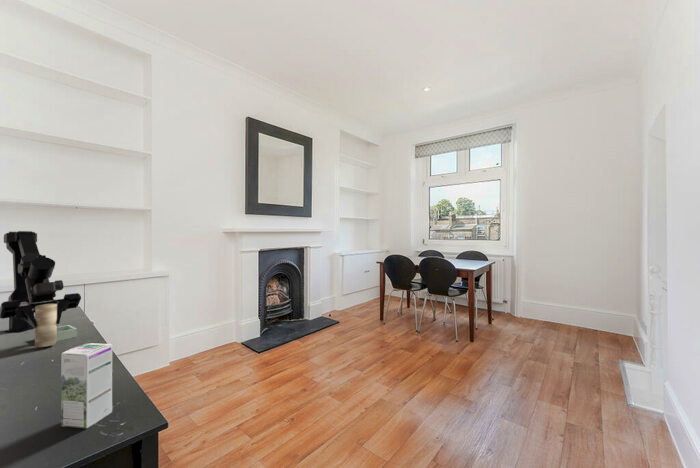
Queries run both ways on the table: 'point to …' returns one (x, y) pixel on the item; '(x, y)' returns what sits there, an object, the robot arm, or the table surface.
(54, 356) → the table surface
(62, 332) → the sage collar
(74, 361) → the syrup box
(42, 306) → the maple dowel
